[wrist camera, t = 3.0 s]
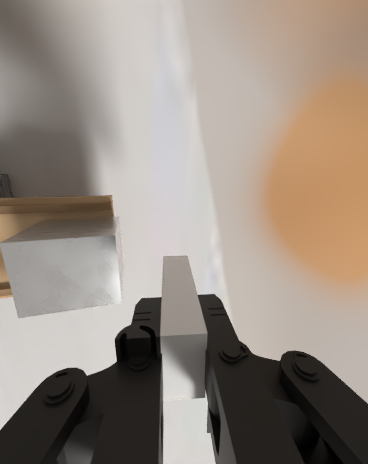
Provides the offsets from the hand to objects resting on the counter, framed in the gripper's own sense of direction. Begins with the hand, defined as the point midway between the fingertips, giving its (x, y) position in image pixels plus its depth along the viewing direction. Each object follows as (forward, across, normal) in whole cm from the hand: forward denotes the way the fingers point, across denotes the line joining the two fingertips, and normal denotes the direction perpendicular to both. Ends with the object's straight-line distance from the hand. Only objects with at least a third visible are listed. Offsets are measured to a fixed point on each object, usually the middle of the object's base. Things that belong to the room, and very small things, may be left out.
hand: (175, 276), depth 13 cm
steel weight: (+6, -8, 0) cm, 10 cm away
